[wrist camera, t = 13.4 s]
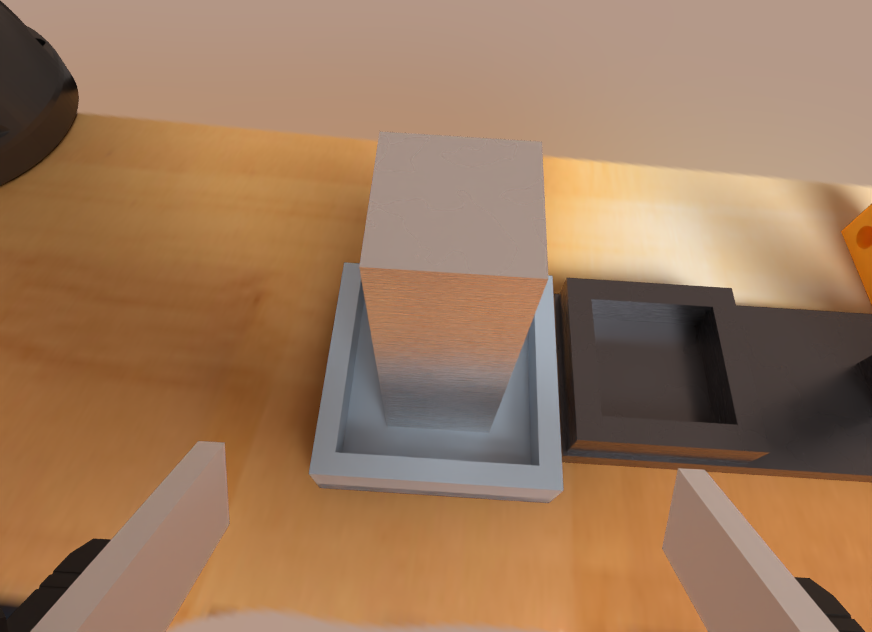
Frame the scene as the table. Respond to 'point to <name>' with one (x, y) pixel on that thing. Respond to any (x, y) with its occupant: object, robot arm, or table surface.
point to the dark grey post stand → (711, 382)
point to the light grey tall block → (452, 273)
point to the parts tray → (431, 448)
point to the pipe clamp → (861, 246)
